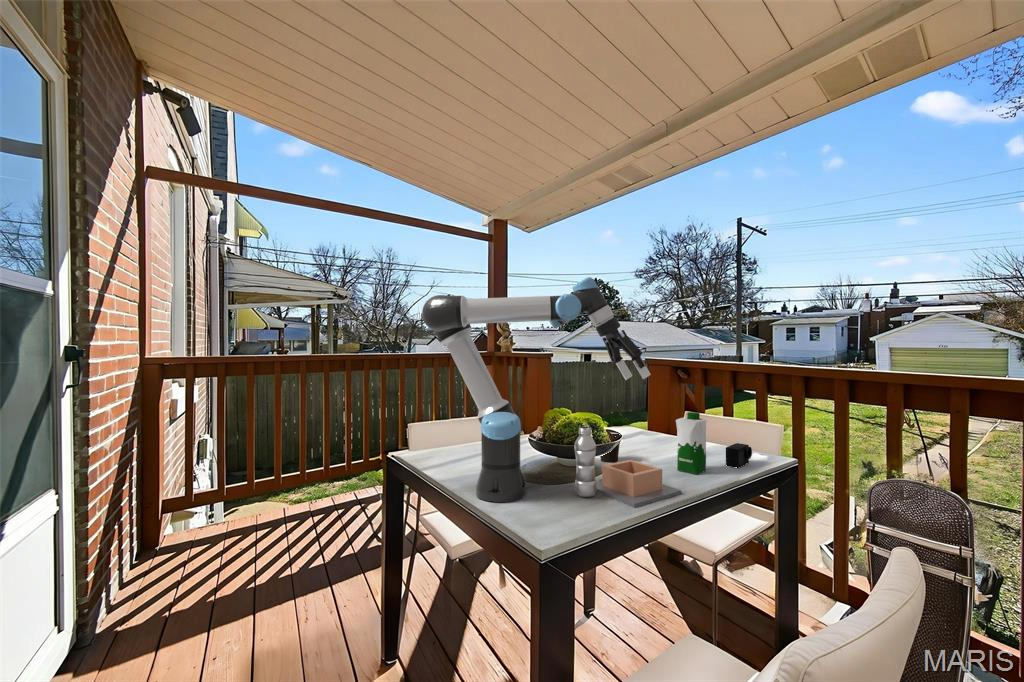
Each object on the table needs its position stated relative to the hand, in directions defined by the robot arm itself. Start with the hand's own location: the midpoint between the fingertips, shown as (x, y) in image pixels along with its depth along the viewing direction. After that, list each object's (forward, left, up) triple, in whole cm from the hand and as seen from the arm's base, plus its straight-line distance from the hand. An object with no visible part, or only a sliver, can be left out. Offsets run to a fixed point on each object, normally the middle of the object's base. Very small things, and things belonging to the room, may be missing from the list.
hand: (637, 377), depth 140 cm
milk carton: (+24, -3, -34) cm, 41 cm away
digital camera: (+45, -8, -34) cm, 57 cm away
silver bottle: (-24, -2, -34) cm, 42 cm away
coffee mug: (+11, +23, -34) cm, 42 cm away
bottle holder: (-9, -6, -34) cm, 35 cm away
